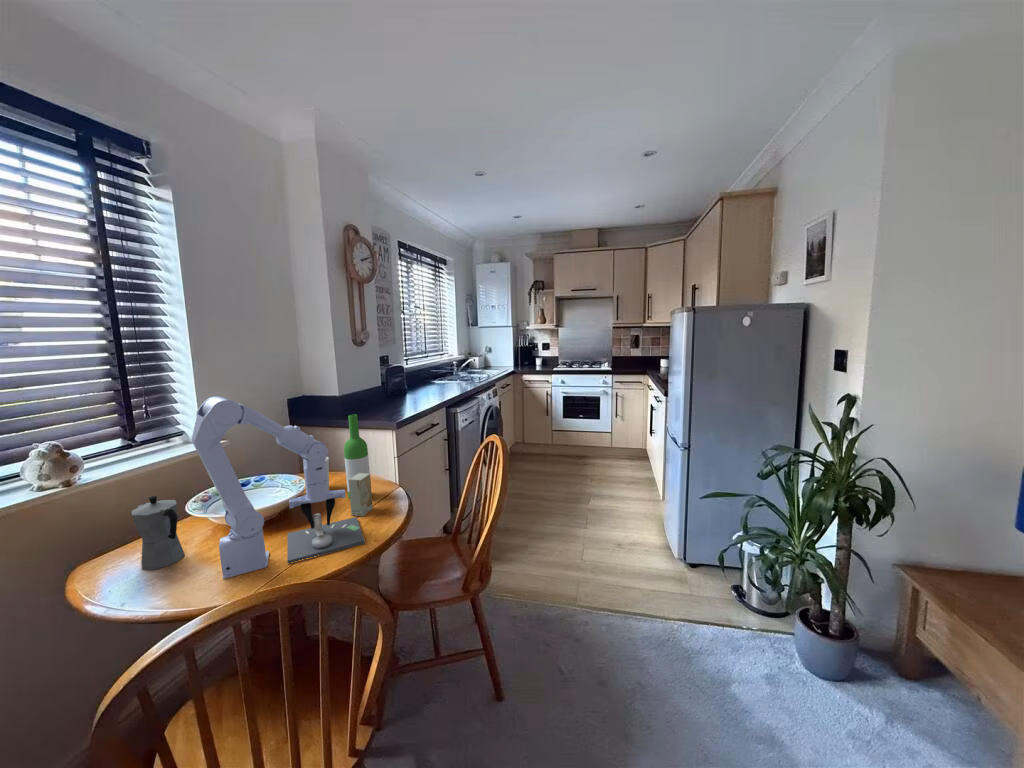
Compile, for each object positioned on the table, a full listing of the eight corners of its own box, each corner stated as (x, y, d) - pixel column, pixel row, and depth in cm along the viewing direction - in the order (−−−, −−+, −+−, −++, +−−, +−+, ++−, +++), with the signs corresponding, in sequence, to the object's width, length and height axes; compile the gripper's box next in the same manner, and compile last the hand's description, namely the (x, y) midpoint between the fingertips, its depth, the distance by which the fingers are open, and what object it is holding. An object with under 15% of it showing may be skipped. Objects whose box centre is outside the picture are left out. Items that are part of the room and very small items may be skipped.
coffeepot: (127, 564, 106) (115, 500, 103) (169, 546, 115) (159, 486, 112) (161, 577, 100) (150, 509, 97) (203, 557, 108) (193, 494, 106)
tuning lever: (333, 544, 111) (331, 526, 110) (313, 550, 108) (311, 532, 107) (325, 524, 122) (323, 508, 121) (307, 529, 119) (305, 513, 118)
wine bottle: (343, 499, 143) (335, 416, 138) (363, 491, 149) (356, 411, 144) (356, 504, 138) (349, 418, 134) (376, 496, 144) (369, 414, 140)
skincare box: (363, 516, 129) (359, 480, 127) (350, 515, 130) (347, 479, 128) (373, 507, 135) (370, 472, 133) (362, 506, 136) (358, 472, 134)
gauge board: (287, 564, 104) (287, 560, 104) (288, 536, 118) (287, 533, 118) (365, 543, 113) (364, 539, 113) (356, 519, 127) (356, 516, 127)
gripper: (342, 471, 122) (346, 514, 124) (288, 480, 116) (293, 525, 118) (344, 479, 116) (348, 524, 118) (286, 489, 110) (292, 536, 112)
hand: (320, 525), depth 118 cm, fingers open, 3 cm apart
